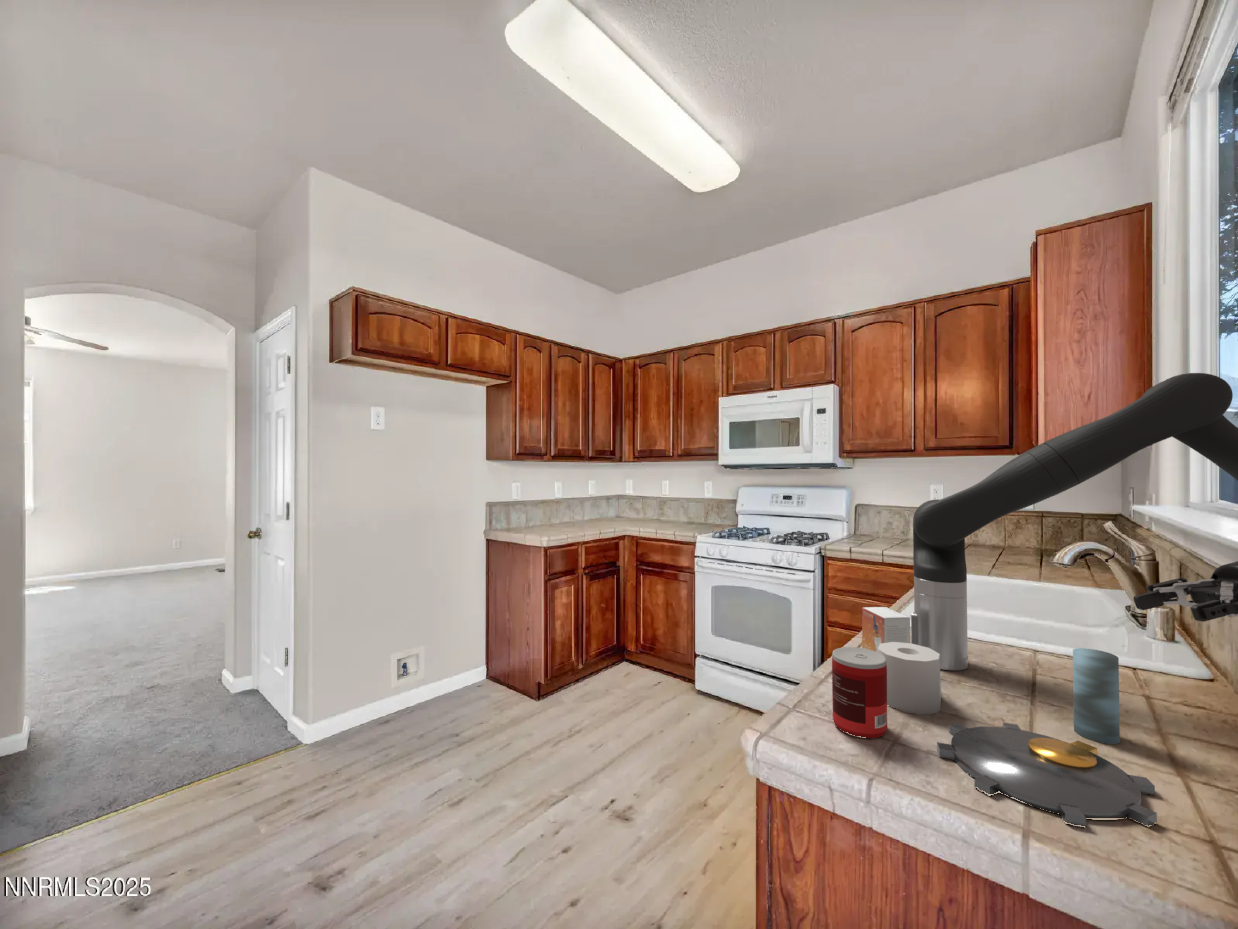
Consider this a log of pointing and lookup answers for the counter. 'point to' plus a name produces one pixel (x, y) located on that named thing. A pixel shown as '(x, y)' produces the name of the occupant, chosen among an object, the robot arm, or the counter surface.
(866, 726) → the canned food
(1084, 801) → the sprocket plate
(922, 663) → the toilet tissue
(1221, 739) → the counter surface
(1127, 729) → the counter surface
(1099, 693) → the pin
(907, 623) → the small box
